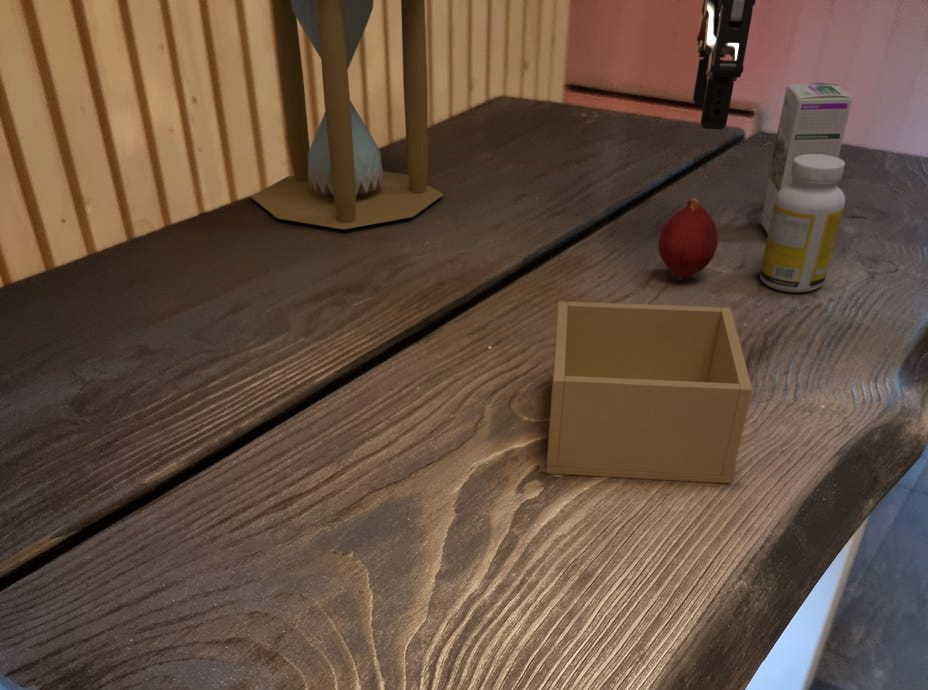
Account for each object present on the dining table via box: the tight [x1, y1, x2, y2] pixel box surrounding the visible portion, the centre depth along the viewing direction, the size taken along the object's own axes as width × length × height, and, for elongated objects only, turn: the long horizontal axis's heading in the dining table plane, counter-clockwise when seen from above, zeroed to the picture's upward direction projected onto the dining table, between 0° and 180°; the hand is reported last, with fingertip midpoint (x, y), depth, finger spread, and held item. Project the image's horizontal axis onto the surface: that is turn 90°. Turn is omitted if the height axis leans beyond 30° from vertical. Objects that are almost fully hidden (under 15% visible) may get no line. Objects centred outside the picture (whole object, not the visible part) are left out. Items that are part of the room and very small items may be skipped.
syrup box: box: [759, 82, 853, 236], centre depth 101 cm, size 6×6×14 cm
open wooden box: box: [545, 301, 753, 484], centre depth 71 cm, size 14×14×8 cm
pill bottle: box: [759, 154, 846, 293], centre depth 92 cm, size 6×6×12 cm
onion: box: [658, 198, 719, 281], centre depth 94 cm, size 6×6×8 cm
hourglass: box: [250, 0, 445, 230], centre depth 108 cm, size 24×22×25 cm
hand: (708, 115), depth 86 cm, fingers open, 8 cm apart
